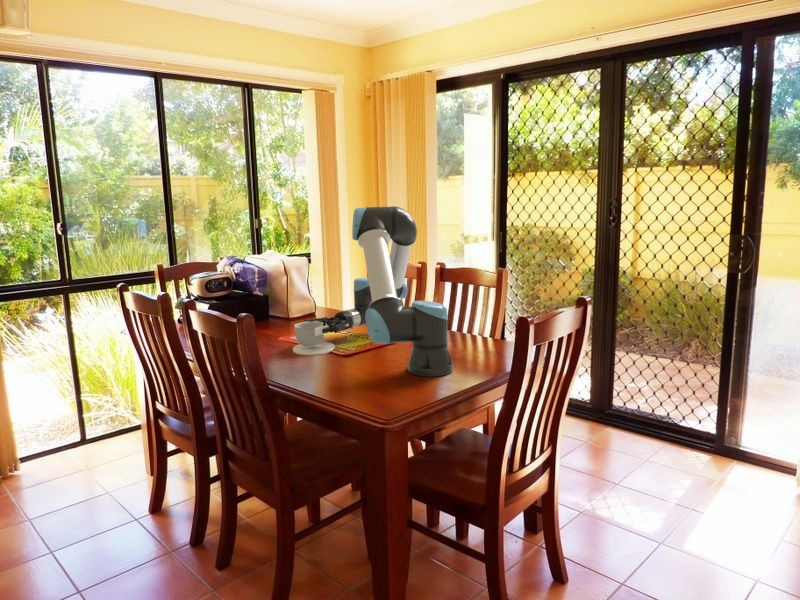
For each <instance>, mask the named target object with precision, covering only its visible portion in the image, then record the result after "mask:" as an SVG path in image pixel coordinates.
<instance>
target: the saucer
mask: <svg viewBox="0 0 800 600" xmlns="http://www.w3.org/2000/svg"><path fill="white" fill-rule="evenodd" d="M335 345H336V344H333V343H331V342H328V341H321V342H320V343H319V344H317V345H314V346H303V345H302V344H300V343H299V344H296V345H294V346H293V347H292V352H293V353H294V354H296V355H300V356H321V355H326V354H329V352H330V351H332V350H333V349H334V348H335V349H336V346H335ZM332 352H333V351H332ZM330 353H331V352H330Z"/></svg>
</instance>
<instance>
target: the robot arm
mask: <svg viewBox="0 0 800 600" xmlns="http://www.w3.org/2000/svg"><path fill="white" fill-rule="evenodd" d="M351 230H352V232H351V236H352V240H353V241H357V244H358V245H359V247H360V248H362V249H363V253H364V260H365V267H366V271H367V272H366V273H367V277H357V278H355V279H354V280H353V300H354V301H353V302H354V303H353V307H354V308H351V309H346V310H342V311H338V312H336V313H335V315H334V316H331V317H327V316H324V317H319V318H311V319H305V320H304V322H313V321H318V322H322V323H323V327H319V328H315V329H314V336H318V335H322V334H324V335H325V334H329V333H330V334H332V333H335V334H337V333H339V332H341V331H346V330H349V329H351V330H352V329H354V328H358V327H361V326H364V325H366V330H367V331H366V332H367V335H368V337H369V339H370V341H371V342H372V343H373V344H375V345H389V344H399V343H400V344H401V343H411V342H412V349H411V353H410V355H409V360H408V363H407V371H408V373H410V374H412V375H415V376H420V377H428V378H429V377H432V378H433V377H442V376H445V375H449V374H451V373H452V372H453V370H454V367H453V366H454V365H453V360H452V357H451V354H450V352H449V348H448V345H449V344H448V321H449V317H448V308H447V307H446V305H444V304H442V303H441V302H440V303H439V302H434V301H429V300H413V302H412V303H411V306H404V305H405V304H404V301H403V299H405V298H407V296H408V283H407V282H406V281H405V278H406V272H407V270H408V269H407V267H408V264H409V259H410V254H411V250H412V247H413V245H414V244H415V242H416V239H417V235H418V229H417V224H416V222H415V220H414V218H413V217H412V215H411V213H410V212H408V211H407V210H406V209H405V208H402V207H399V206H377V207H376V206H369V207H368V206H365V207H356V208H355V209H354V212H353V217H352V229H351ZM390 241H392V242H391V249H390V253H389V248H388V245H389V242H390ZM304 322H303V321H302V323H304ZM300 323H301V322H299V323H295V324H294V329H295V325H297V324H300Z"/></svg>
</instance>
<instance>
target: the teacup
mask: <svg viewBox="0 0 800 600" xmlns="http://www.w3.org/2000/svg"><path fill="white" fill-rule="evenodd" d="M299 323H300V324H299ZM299 323H296V324H297V325H295V328H294V332H295V337H296V342H297V343H299V344H302V345H303V346H314V345H317V344H319V343H320V342H323V339H324V338H325V337H324V336H325V334H322V335H318V336H314V329H315V328H319V327H323V323H322V322H318V321H313V322H305V321H304V323H303V322H299Z"/></svg>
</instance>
